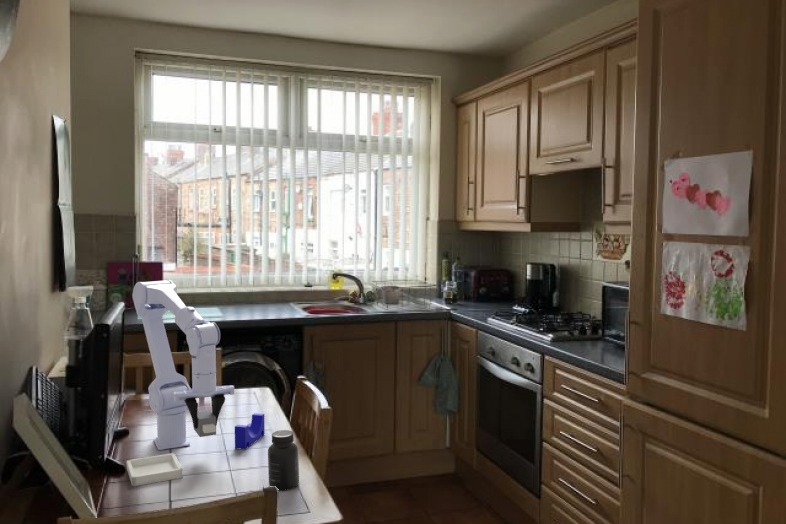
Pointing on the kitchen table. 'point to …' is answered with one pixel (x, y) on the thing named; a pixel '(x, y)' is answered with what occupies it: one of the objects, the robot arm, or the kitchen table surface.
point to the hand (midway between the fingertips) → (205, 425)
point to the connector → (206, 423)
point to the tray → (154, 469)
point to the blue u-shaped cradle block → (249, 431)
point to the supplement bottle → (283, 461)
